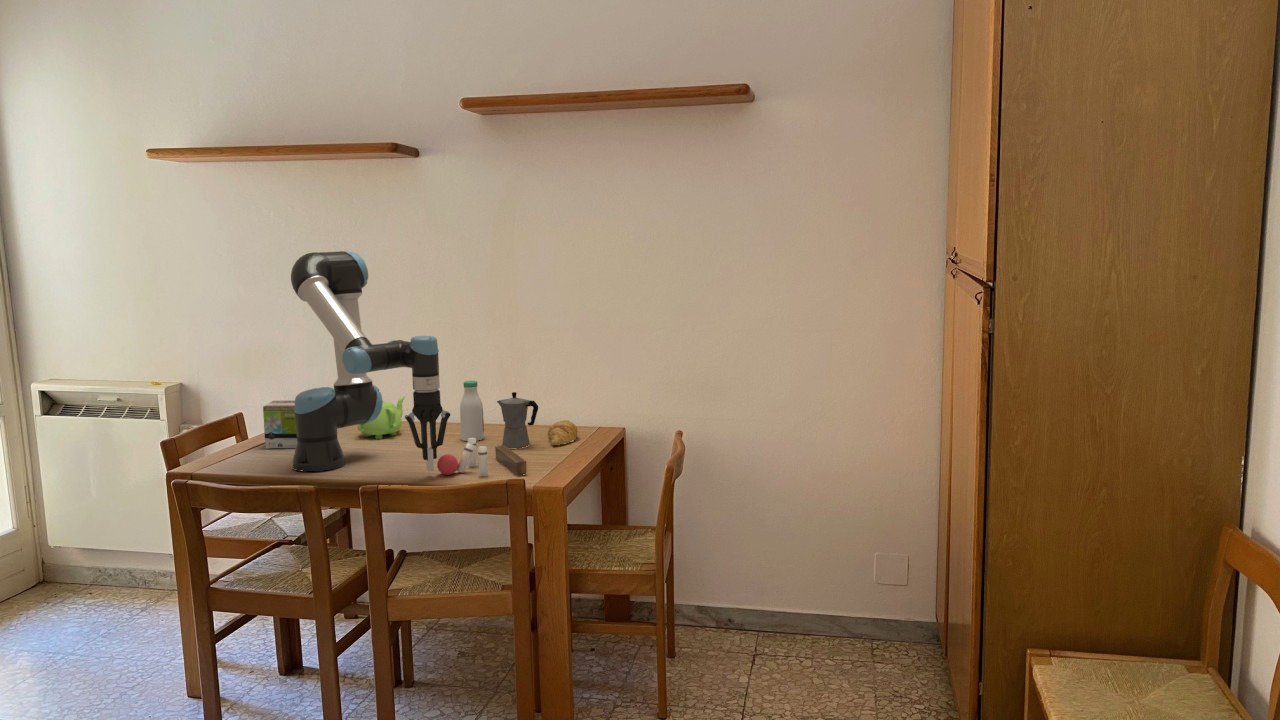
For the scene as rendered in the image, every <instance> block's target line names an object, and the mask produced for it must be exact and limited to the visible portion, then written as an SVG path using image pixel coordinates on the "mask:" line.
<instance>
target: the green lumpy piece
mask: <svg viewBox="0 0 1280 720" xmlns="http://www.w3.org/2000/svg"><path fill="white" fill-rule="evenodd" d="M405 398H406V396H402V397H400V398H399V399H398V400H397V402H396V403H397V404H396V405H395V403H392V402H391V403H390V402H384V399H382V409H381V412H380V414H379V415H378V417H377V418H376V419H375V420H374V421H371V422H368V423H365V424H358V425H357V430H358V431H359V432H361V433H362V434H364V437H365V436H370V437H372V436H374V439H375V438H376V439H375V440H381V438H382V439H383V438H384V437H383V435H387V434H389V436H390V435H396V436H397V435H398V433H397V432H398V431H400V429H401V427H402V426H403V422H402V416H403V411H404V410H403V403H404V400H405Z"/></svg>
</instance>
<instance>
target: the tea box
mask: <svg viewBox="0 0 1280 720" xmlns="http://www.w3.org/2000/svg"><path fill="white" fill-rule="evenodd" d="M294 408H295V400H272V401H271V402H269V403H267V404H266V405H263V406H262V412H263V413H262V414H263V429H264V431H263V432H264V443H265V449H267V450H268V449H296V446H297V432H296V418H295V411H294Z"/></svg>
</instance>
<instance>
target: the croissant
mask: <svg viewBox="0 0 1280 720" xmlns="http://www.w3.org/2000/svg"><path fill="white" fill-rule="evenodd" d="M547 436H548V440H549V441H550V444H551V446H553V445H558V446H560V445H559V444H564V443H567V442H570V441H572V440H575V441H576V440H577V437H578V428H577V426H576V424H575V423H573V422H572V421H570V420H559V421H558V422H555V423H553V424H552V425H551V426H550V427H549V428H548V430H547ZM564 445H565V444H564Z"/></svg>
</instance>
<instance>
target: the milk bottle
mask: <svg viewBox="0 0 1280 720" xmlns="http://www.w3.org/2000/svg"><path fill="white" fill-rule="evenodd" d="M463 390H464V391H463V396H462V398H461V401H460V405H459V410H460V411H459V420H460V421H459V423H460V438H461V440H462V441H463V442H468V438H476V442H479V440H480V441H482V439H483V440H484V439H485V426H484V424H485V422H484V421H485V420H484V407H483V401H482V399H481V397H480V395H479V392H478V381H477V380H465V381H463Z"/></svg>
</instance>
